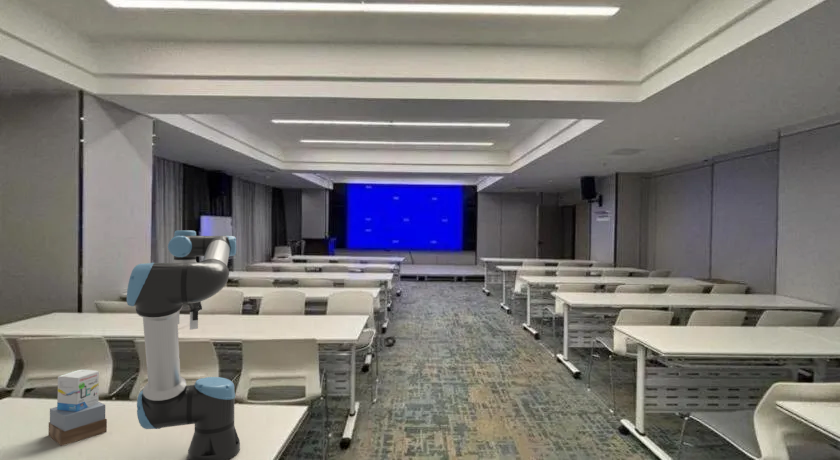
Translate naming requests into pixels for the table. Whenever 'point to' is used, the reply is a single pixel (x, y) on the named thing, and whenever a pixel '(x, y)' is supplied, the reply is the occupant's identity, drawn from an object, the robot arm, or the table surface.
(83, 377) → the ink box
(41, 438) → the table surface
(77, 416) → the grey top slab
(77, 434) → the walnut base slab
